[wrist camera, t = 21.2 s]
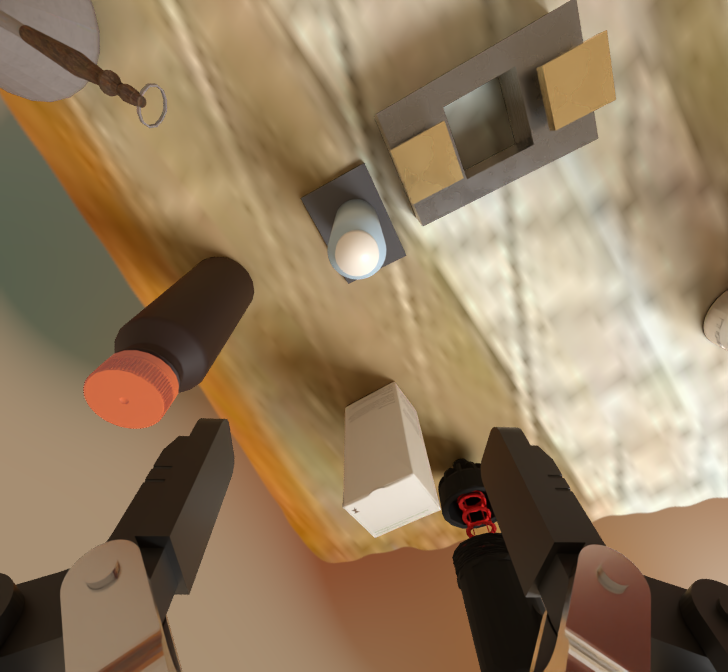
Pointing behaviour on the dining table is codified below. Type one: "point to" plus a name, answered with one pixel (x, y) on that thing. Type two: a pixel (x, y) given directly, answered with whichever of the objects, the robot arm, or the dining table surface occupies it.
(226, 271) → the bottle
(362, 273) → the cartridge
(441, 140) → the plunger
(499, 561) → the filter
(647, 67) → the dining table surface
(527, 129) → the housing
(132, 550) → the robot arm
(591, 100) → the plunger
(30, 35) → the coffee pot
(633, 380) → the dining table surface
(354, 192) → the mat
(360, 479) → the skincare box
